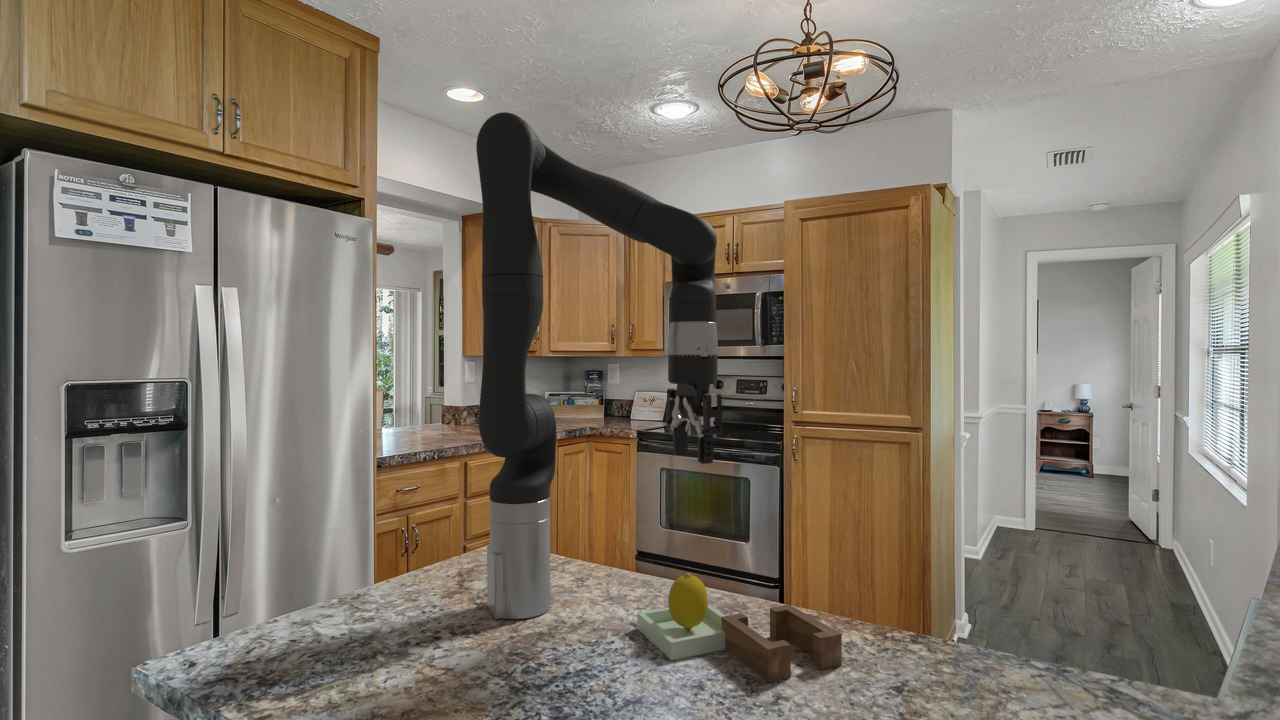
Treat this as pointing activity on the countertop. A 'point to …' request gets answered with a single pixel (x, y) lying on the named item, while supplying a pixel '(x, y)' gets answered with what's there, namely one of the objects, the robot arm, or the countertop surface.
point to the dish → (682, 633)
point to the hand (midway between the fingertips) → (692, 458)
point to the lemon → (688, 601)
